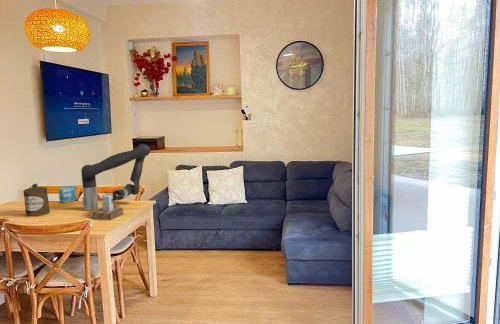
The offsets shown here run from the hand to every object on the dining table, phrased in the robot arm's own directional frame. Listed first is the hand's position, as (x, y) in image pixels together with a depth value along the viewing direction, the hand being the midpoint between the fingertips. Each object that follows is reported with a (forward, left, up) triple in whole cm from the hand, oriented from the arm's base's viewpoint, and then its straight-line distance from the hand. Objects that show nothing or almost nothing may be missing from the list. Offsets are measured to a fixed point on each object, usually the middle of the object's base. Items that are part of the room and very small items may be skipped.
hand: (107, 199), depth 254 cm
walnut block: (0, -1, -12) cm, 12 cm away
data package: (-59, +35, -12) cm, 70 cm away
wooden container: (-56, -1, -12) cm, 57 cm away
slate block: (0, -1, -7) cm, 7 cm away
